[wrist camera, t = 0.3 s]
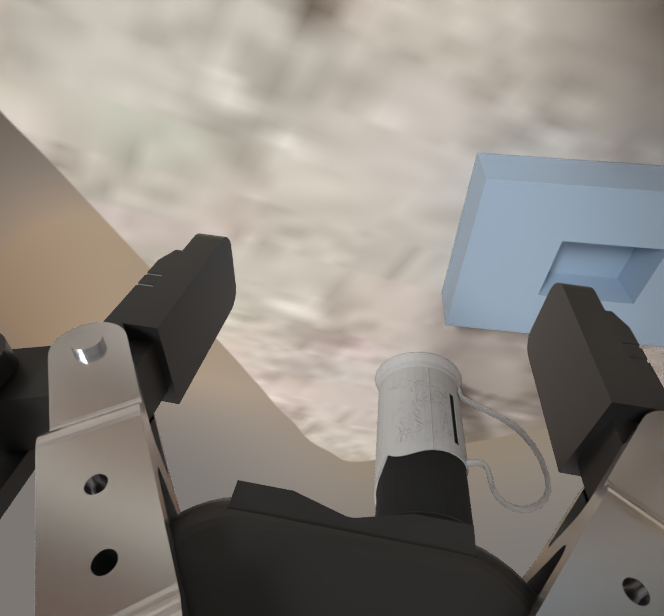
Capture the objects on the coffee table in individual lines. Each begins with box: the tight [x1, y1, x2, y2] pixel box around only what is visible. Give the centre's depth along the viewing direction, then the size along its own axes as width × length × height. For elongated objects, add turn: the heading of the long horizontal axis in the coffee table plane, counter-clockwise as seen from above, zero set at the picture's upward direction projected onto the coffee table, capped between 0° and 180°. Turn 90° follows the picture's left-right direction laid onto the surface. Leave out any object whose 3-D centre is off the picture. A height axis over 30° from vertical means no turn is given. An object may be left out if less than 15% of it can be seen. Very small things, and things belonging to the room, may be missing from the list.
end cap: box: [442, 153, 664, 347], centre depth 30 cm, size 12×18×4 cm, turn 88°
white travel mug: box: [374, 352, 551, 525], centre depth 37 cm, size 9×14×15 cm, turn 113°
